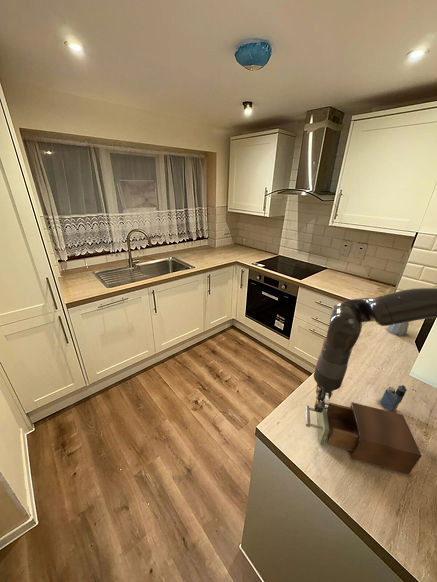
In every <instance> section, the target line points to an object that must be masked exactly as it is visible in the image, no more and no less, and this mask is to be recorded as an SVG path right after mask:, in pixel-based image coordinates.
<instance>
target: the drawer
mask: <svg viewBox="0 0 437 582" xmlns="http://www.w3.org/2000/svg"><path fill="white" fill-rule="evenodd" d="M329 403H330V404H331V406H332V407H331V409H323V411H322V413H320V412H316V411H315V408H314V407H310V406H309V405H304V415H305V417H304V418H305V427H307V428H311V427H312V428H314V429H315V428H316V429H317V431H318V433H317V434H318V442H319V443H318V445H319V446H323V447H324V446H325V444H326V440H327V444H328V445H330V446H333V447H335V448H339V449H342V450H347V451H350V452H351V451H354V449H355V447H356V445H357V443H358V441H359V438H360V437H359V433H358V429H357V425H356V421H355V417H354V414H353V410H352V408H350V406H345V405H341V404H339V403H338V404H337V403H334V402H331V401H329ZM311 411H312V412H316V420H317V424H315V423H314V424H313V423H311V413H310V412H311Z"/></svg>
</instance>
